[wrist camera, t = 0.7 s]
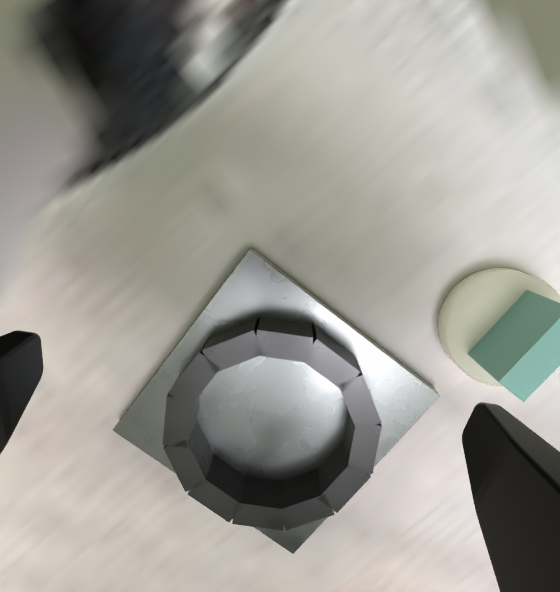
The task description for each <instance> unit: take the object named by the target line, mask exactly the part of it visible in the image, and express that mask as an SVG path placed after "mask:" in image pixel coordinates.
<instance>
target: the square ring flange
mask: <svg viewBox="0 0 560 592" xmlns="http://www.w3.org/2000/svg"><path fill="white" fill-rule="evenodd" d="M439 397H440V395H439V394H438V392H437V391H436V390H435V388H434V387H432V386H431V385H430V384H429V383H427V382H426V381H425V380H423V379H422V378H421V377H419V376H418V375H417V374H416V373H414V372H413V371H412V370H410V369H409V368H408V367H406V366H405V365H404V364H403V363H401V362H400V361H399V360H397V359H396V358H395V357H393V356H392V355H391V354H390V353H388V352H387V351H386V350H384V349H383V348H382V347H380V346H379V345H378V344H377V343H375V342H374V341H373V340H371V339H370V338H369V337H367V336H366V335H365V334H364V333H362V332H361V331H360V330H358V329H357V328H356V327H354V326H353V325H352V324H351V323H349V322H348V321H347V320H345V319H344V318H343V317H341V316H340V315H339V314H338V313H336V312H335V311H334V310H332V309H331V308H330V307H328V306H327V305H326V304H325V303H323V302H322V301H321V300H319V299H318V298H317V297H315V296H314V295H313V294H312V293H310V292H309V291H308V290H306V289H305V288H304V287H302V286H301V285H300V284H299V283H297V282H296V281H295V280H293V279H292V278H291V277H289V276H288V275H287V274H285V273H284V272H283V271H282V270H280V269H279V268H278V267H276V266H275V265H274V264H272V263H271V262H270V261H269V260H267V259H266V258H265V257H263V256H262V255H261V254H259V253H258V252H257V251H256V250H254V249H253V248H252V247H251V249H250V250H249V251H248V252H247V254H246V255H245V256H244V258H243V259H242V260H241V262H240V263H239V264H238V266H237V267H236V268H235V270H234V271H233V272H232V273H231V275H230V276H229V277H228V279H227V280H226V281H225V283H224V284H223V285H222V287H221V288H220V289H219V291H218V292H217V293H216V295H215V296H214V297H213V299H212V300H211V301H210V302H209V304H208V305H207V306H206V308H205V309H204V310H203V312H202V313H201V314H200V316H199V317H198V318H197V320H196V321H195V322H194V324H193V325H192V326H191V328H190V329H189V330H188V331H187V333H186V334H185V335H184V337H183V338H182V339H181V341H180V342H179V343H178V345H177V346H176V347H175V349H174V350H173V351H172V353H171V354H170V355H169V357H168V358H167V359H166V360H165V362H164V363H163V364H162V366H161V367H160V368H159V370H158V371H157V372H156V374H155V375H154V376H153V378H152V379H151V380H150V382H149V383H148V384H147V386H146V387H145V388H144V389H143V391H142V392H141V393H140V395H139V396H138V397H137V399H136V400H135V401H134V403H133V404H132V405H131V407H130V408H129V409H128V411H127V412H126V413H125V415H124V416H123V417H122V418H121V420H120V421H119V422H118V424H117V425H116V426H115V428H114V429H113V431H115V432H116V433H118V434H119V435H121V436H122V437H124V438H125V439H126V440H128V441H129V442H131V443H132V444H134V445H135V446H137V447H138V448H140V449H141V450H142V451H144V452H145V453H147V454H148V455H150V456H151V457H153V458H154V459H156V460H157V461H159V462H160V463H161V464H163V465H164V466H166V467H167V468H169V469H170V470H172V471H173V472H175V473H176V474H177V476H178V478H179V480H180V482H181V484H182V486H183V488H184V490H185V492H186V491H189V492H188V495H190V496H191V497H192V498H194V499H195V500H197V501H198V502H200V503H201V504H203V505H204V506H206V507H207V508H209V509H210V510H212V511H213V512H214V513H216V514H217V515H219V516H220V517H222V518H223V519H225V520H226V521H228V522H230V521H231V520H232V519H233V523H232V524H238V525H245V526H252V527H255V528H256V529H258V530H259V531H261V532H262V533H263V534H265V535H266V536H268V537H269V538H271V539H272V540H274V541H275V542H277V543H278V544H279V545H281V546H282V547H284V548H285V549H287V550H288V551H290V552H291V553H294V552H295V551H296V550H297V549H298V548H299V547H300V546H301V545H302V544H303V543H304V542H305V540H306V539H307V538H308V537H309V536H310V535H311V534H312V533H313V532H314V531H315V530H316V529H317V528H318V527H319V525H320V524H321V523H322V522H323V521H324V520H325V519H326V518H327V517H328V516H331V515H334V511H335V512H338V511H339V510H340V509H341V508H342V507H343V506H344V505H345V504H346V503H347V502H348V501H349V500H350V498H351V497H352V496H353V495H354V494H355V493H356V492H357V491H358V490H359V489H360V488H361V487H362V486H363V485H364V484H365V482H366V481H367V480H368V479H369V478H370V477H371V476H370V474H372V473H373V468H374V466H375V465H376V464H377V463H378V462H379V461H380V460H381V459H382V458H383V457H384V456H385V455H386V454H387V453H388V451H389V450H390V449H391V448H392V447H393V446H394V445H395V444H396V443H397V442H398V441H399V440H400V439H401V438H402V436H403V435H404V434H405V433H406V432H407V431H408V430H409V429H410V428H411V427H412V426H413V425H414V424H415V423H416V421H417V420H418V419H419V418H420V417H421V416H422V415H423V414H424V413H425V412H426V411H427V410H428V409H429V407H430V406H431V405H432V404H433V403H434V402H435V401H436V400H437V399H438V398H439Z"/></svg>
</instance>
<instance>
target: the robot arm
mask: <svg viewBox="0 0 560 592" xmlns="http://www.w3.org/2000/svg"><path fill="white" fill-rule="evenodd" d="M42 373H43V358H42V347H41V339H40V337H39V335H38V334H36V333H32V332H25V331H13V332H11V333H8V334H6V335H3V336H0V454H1V452H2V451H3V449H4V448H5V446H6V445H7V443H8V441H9V439H10V437H11V435H12V434H13V432H14V430H15V428H16V426H17V424H18V422H19V420H20V418H21V416H22V414H23V412H24V410H25V408H26V406H27V404H28V403H29V401H30V399H31V397H32V395H33V393H34V391H35V389H36V387H37V385H38V383H39V381H40V379H41V377H42ZM462 443H463V448H464V454H465V459H466V464H467V469H468V474H469V479H470V485H471V490H472V495H473V500H474V504H475V509H476V513H477V516H478V520H479V524H480V527H481V530H482V533H483V537H484V540H485V543H486V546H487V550H488V553H489V556H490V560H491V563H492V566H493V569H494V573H495V576H496V579H497V582H498V586H499V589H500V592H560V452H559V451H558V450H557V449H555V448H554V447H553V446H551V445H550V444H549V443H547V442H546V441H545V440H544V439H542V438H541V437H540V436H538V435H537V434H536V433H535V432H533V431H532V430H531V429H529V428H528V427H527V426H526V425H524V424H523V423H522V422H520V421H519V420H518V419H516V418H515V417H514V416H513V415H511V414H510V413H509V412H507V411H506V410H505V409H504V408H502V407H501V406H499V405H496V404H489V403H483V402H481V403H478V404H477V405H476V406H475V408H474V410H473V412H472V414H471V416H470V418H469V420H468V422H467V424H466V426H465V428H464V431H463V434H462Z"/></svg>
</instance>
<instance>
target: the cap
mask: <svg viewBox="0 0 560 592" xmlns="http://www.w3.org/2000/svg"><path fill="white" fill-rule="evenodd" d="M438 333H439V338H440V342H441V344H442V346H443V349H444V350H445V352H446V353H447V355H448V356H449V357H450V358H451V359H452V360H453V361H454V363H455V364H456V365H457V366H458V367H459V368H460V369H461V370H462V371H463V372H464V373H466V374H467V375H468V376H470V377H471V378H473V379H474V380H477V381H479V382H481V383H484V384H487V385H492V386H504V387H505V388H506V389H508V390H509V391H510V392H512V393H513V394H514V395H515V396H517V397H518V398H519V399H520V400H522V401H523V402H524V401H525V400H526V399H527V398H528V397H529V396H530V395H531V394H532V393H533V392H534V391H535V390H536V389H537V388H538V387H539V386H540V385H541V384H542V383H543V382H544V381H545V380H546V379H547V378H548V377H549V376H550V375H551V374H552V373H553V372H554V371H555V370H556V369H557V368H558V367H559V366H560V296H559V294H558V293H557V292H556V290H554V289H553V288H552V287H551V286H550V285H549V284H548V283H546V282H545V281H543V280H541V279H539V278H537V277H534V276H531V275H529V274H526V273H523V272H520V271H517V270H513V269H508V268H491V269H485V270H482V271H479V272H476V273H474V274H472V275H470V276H468V277H466V278H465V279H463V280H462V281H461V282H459V283H458V284H457V285H456V286H455V287H454V288H453V289H452V290H451V292H450V293H449V294H448V296H447V297H446V299H445V301H444V303H443V305H442V307H441V310H440V314H439V319H438Z"/></svg>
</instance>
